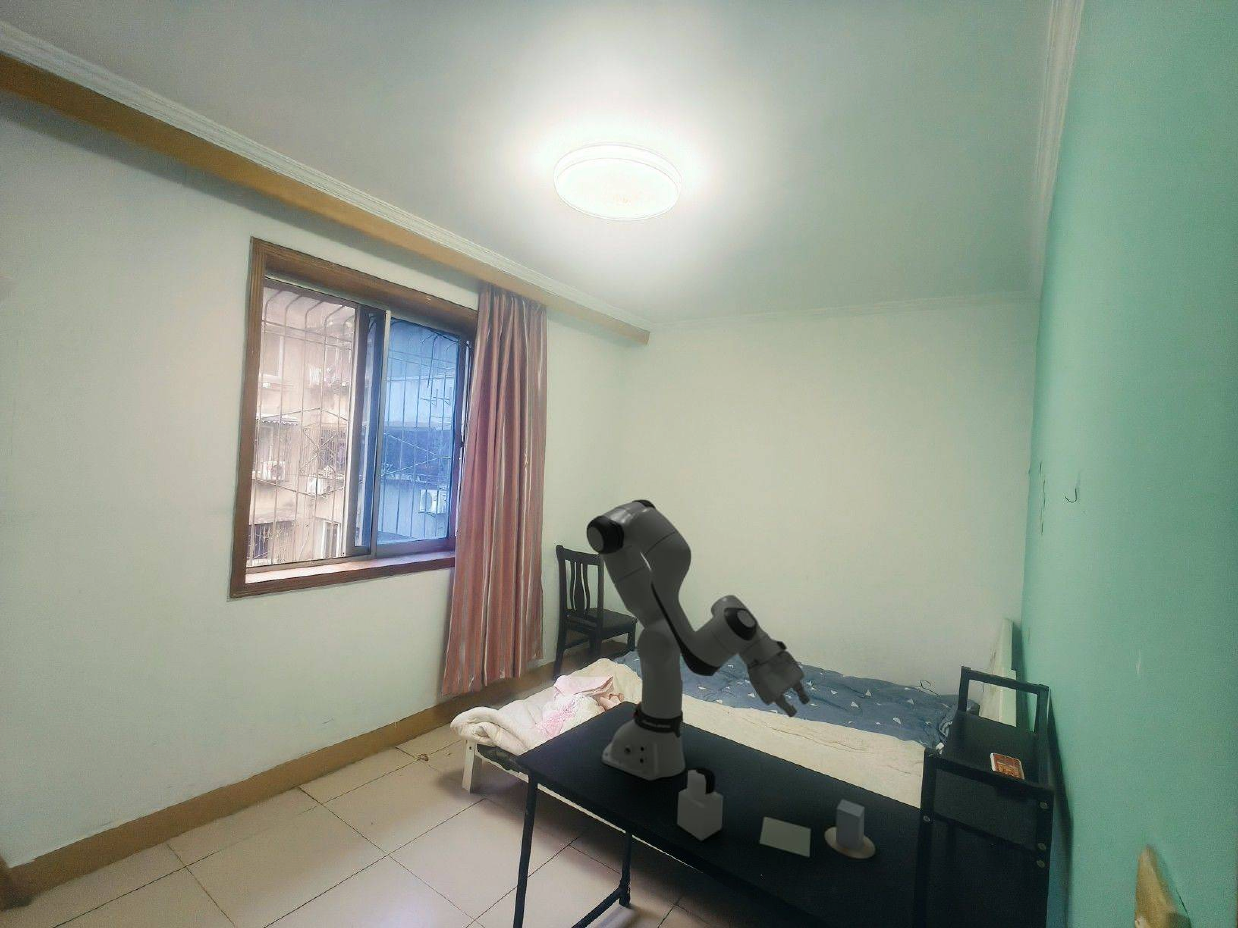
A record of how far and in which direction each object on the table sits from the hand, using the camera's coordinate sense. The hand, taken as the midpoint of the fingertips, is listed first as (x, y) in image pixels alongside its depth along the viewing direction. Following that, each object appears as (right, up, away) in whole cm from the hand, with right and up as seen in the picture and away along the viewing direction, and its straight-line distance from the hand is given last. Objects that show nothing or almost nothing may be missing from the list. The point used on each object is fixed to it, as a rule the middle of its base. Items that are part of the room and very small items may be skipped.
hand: (800, 708), depth 123 cm
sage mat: (-6, -25, -7) cm, 26 cm away
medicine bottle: (-24, -24, -5) cm, 35 cm away
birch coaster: (+8, -25, -8) cm, 28 cm away
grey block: (+8, -25, -8) cm, 28 cm away
